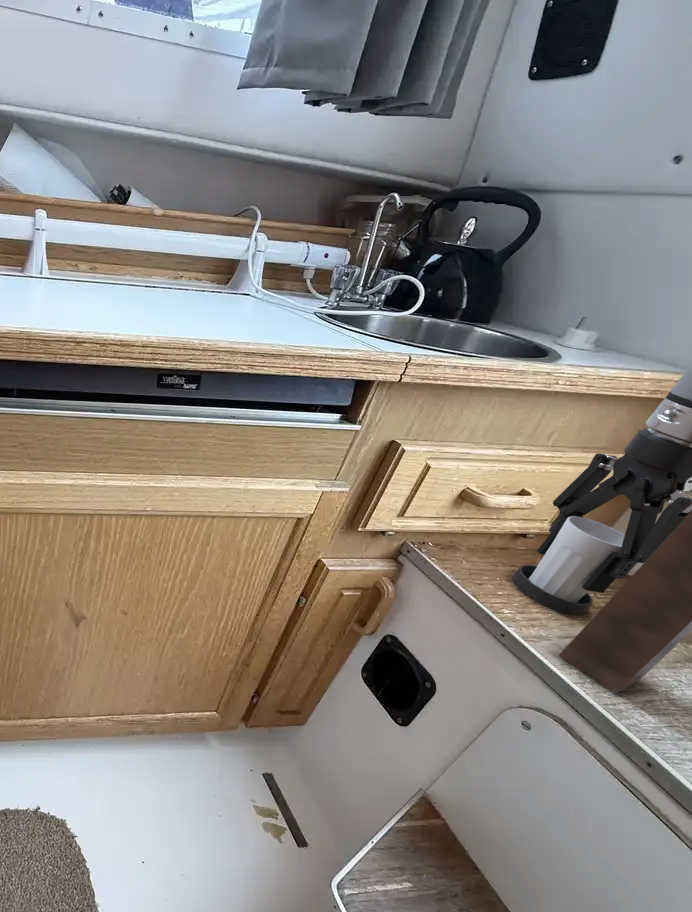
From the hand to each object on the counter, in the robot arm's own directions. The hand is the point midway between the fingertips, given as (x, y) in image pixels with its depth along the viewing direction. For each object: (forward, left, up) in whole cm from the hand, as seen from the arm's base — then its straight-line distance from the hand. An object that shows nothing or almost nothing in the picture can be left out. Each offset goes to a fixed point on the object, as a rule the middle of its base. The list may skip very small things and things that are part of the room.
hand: (568, 570), depth 84 cm
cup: (0, 0, -5) cm, 5 cm away
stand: (-2, +17, -5) cm, 18 cm away
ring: (0, 0, -5) cm, 5 cm away
